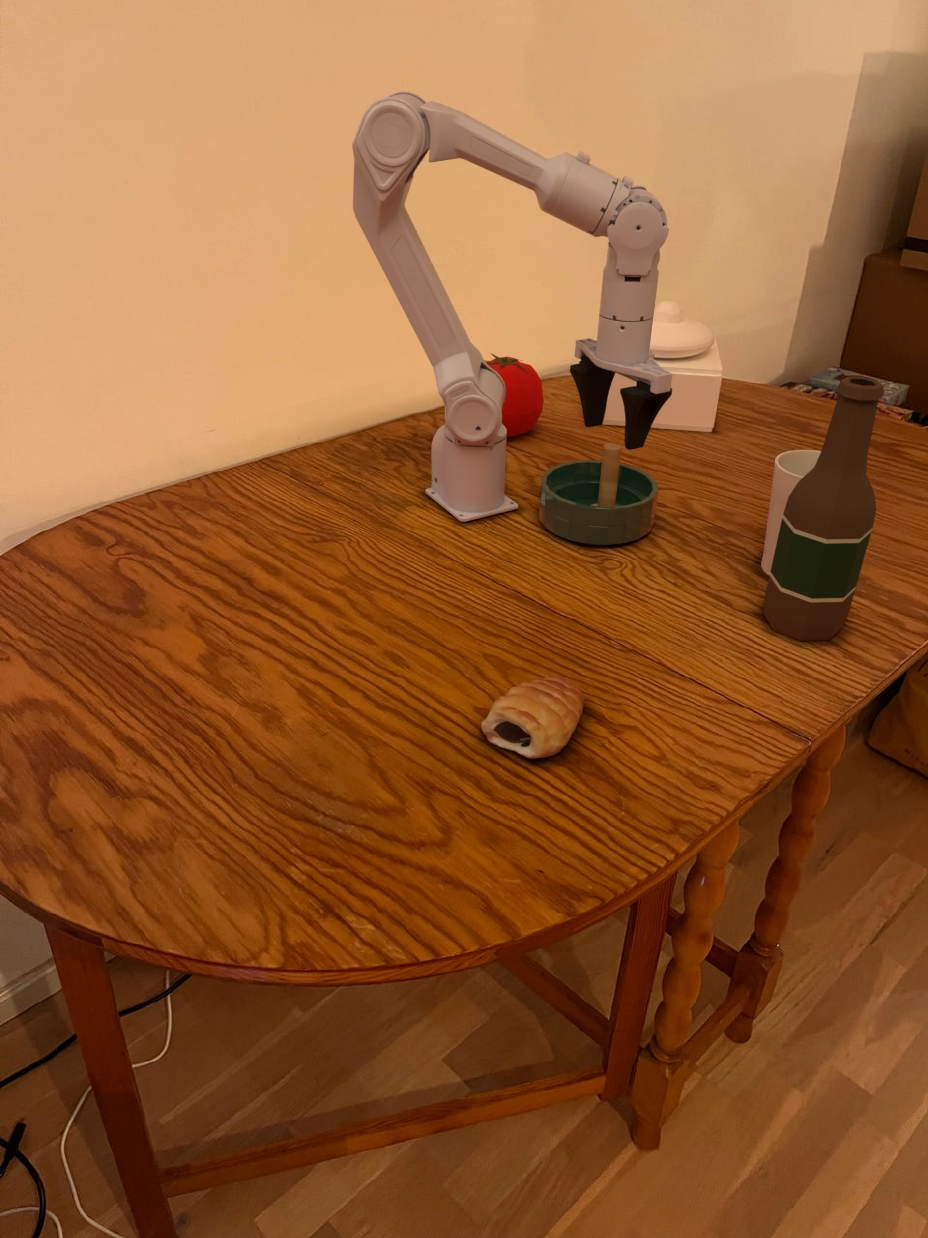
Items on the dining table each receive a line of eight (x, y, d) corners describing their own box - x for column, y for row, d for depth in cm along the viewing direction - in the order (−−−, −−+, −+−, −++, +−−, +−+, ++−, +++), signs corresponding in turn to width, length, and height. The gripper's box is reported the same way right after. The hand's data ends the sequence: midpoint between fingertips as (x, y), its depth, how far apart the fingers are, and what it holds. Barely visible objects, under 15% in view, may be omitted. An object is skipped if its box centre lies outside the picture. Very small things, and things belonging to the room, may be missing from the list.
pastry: (534, 683, 80) (537, 647, 78) (603, 712, 77) (608, 675, 75) (474, 740, 74) (475, 703, 72) (546, 774, 71) (550, 736, 69)
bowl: (517, 512, 109) (519, 473, 106) (606, 490, 114) (610, 452, 112) (582, 559, 99) (586, 518, 97) (676, 533, 105) (682, 493, 102)
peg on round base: (578, 517, 106) (584, 445, 102) (602, 507, 109) (610, 435, 104) (606, 531, 104) (615, 456, 99) (631, 519, 106) (640, 446, 101)
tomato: (544, 449, 125) (549, 373, 119) (454, 448, 125) (454, 372, 119) (538, 415, 136) (542, 344, 131) (455, 414, 136) (456, 342, 131)
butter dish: (590, 423, 134) (600, 312, 125) (595, 384, 149) (605, 282, 140) (712, 432, 131) (731, 319, 123) (706, 391, 146) (722, 288, 138)
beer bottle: (843, 609, 91) (909, 372, 78) (844, 650, 85) (915, 401, 72) (763, 595, 93) (814, 362, 80) (758, 635, 87) (812, 389, 74)
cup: (835, 592, 94) (864, 484, 88) (755, 583, 95) (778, 477, 89) (825, 555, 101) (852, 453, 94) (751, 547, 102) (772, 446, 95)
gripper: (701, 326, 93) (682, 451, 101) (614, 295, 104) (603, 410, 111) (647, 335, 90) (632, 463, 98) (563, 302, 101) (555, 420, 108)
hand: (613, 436), depth 104 cm, fingers open, 7 cm apart
